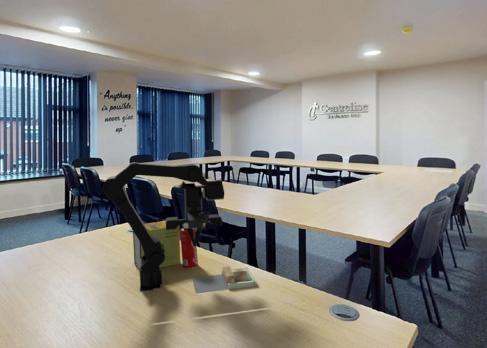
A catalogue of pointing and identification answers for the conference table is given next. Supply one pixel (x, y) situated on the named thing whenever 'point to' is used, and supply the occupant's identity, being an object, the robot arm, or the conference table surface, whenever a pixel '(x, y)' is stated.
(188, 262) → the beverage can
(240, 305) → the conference table surface
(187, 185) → the robot arm
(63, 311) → the conference table surface
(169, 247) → the protein box
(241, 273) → the t block
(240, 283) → the platform with raised edges
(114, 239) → the conference table surface
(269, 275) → the conference table surface
